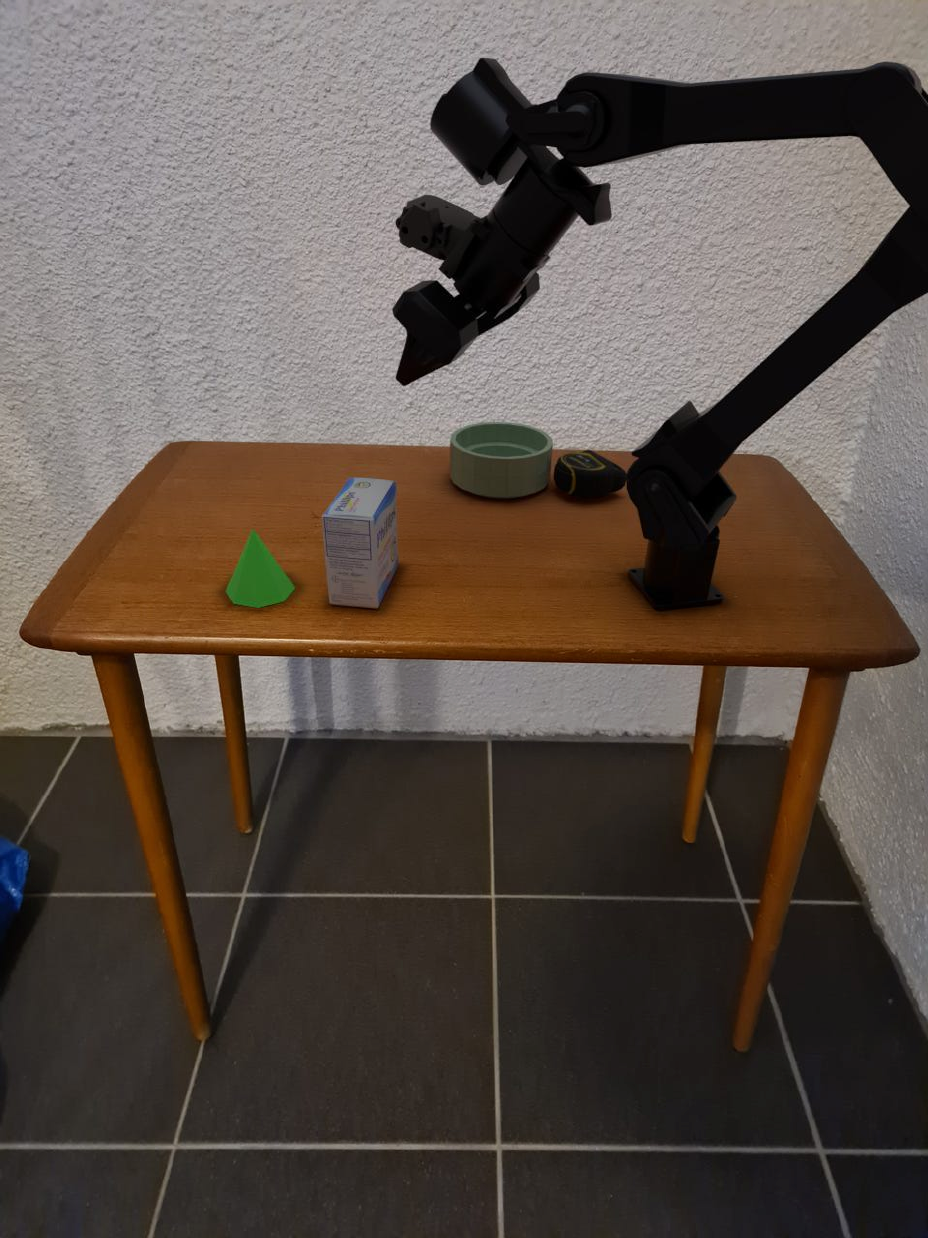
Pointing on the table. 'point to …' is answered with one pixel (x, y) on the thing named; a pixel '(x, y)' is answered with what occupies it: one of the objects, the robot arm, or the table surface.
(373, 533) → the medicine box
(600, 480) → the tape measure
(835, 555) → the table surface
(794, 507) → the table surface
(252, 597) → the green faceted cone
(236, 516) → the table surface
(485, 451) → the bowl
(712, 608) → the table surface
